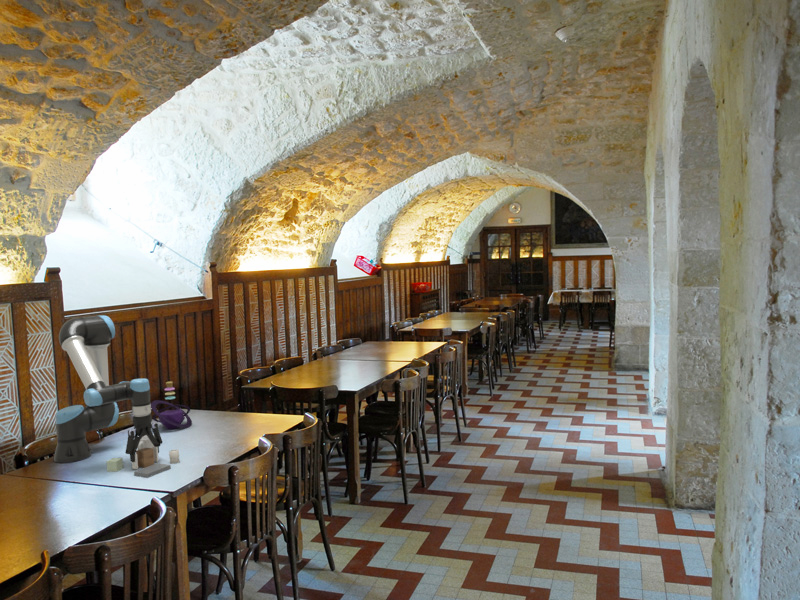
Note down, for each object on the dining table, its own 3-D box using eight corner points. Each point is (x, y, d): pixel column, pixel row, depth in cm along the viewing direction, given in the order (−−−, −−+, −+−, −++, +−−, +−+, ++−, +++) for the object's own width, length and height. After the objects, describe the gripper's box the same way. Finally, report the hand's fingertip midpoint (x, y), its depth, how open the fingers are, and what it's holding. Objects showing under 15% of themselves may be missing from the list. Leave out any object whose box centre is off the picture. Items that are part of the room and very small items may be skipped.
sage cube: (107, 471, 263) (106, 461, 263) (113, 468, 268) (112, 458, 268) (117, 471, 263) (116, 461, 262) (123, 468, 267) (122, 458, 267)
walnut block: (136, 466, 268) (135, 450, 268) (146, 463, 273) (145, 447, 272) (144, 467, 266) (143, 452, 266) (154, 464, 270) (153, 448, 270)
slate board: (134, 475, 257) (133, 471, 257) (157, 466, 267) (157, 462, 267) (147, 477, 253) (147, 474, 253) (170, 468, 263) (170, 465, 263)
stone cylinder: (167, 463, 271) (167, 451, 271) (175, 460, 275) (174, 449, 274) (174, 464, 269) (173, 452, 269) (181, 461, 273) (180, 450, 273)
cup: (146, 458, 279) (145, 441, 279) (131, 458, 281) (130, 441, 280) (160, 451, 290) (159, 434, 289) (145, 451, 291) (144, 434, 291)
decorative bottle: (184, 432, 321) (181, 385, 319) (144, 434, 321) (140, 387, 320) (198, 421, 343) (195, 377, 342) (161, 423, 344) (158, 378, 342)
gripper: (125, 421, 256) (129, 474, 258) (169, 409, 276) (172, 458, 277) (113, 420, 260) (117, 472, 261) (157, 408, 280) (160, 456, 281)
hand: (145, 464), depth 269 cm, fingers open, 10 cm apart
